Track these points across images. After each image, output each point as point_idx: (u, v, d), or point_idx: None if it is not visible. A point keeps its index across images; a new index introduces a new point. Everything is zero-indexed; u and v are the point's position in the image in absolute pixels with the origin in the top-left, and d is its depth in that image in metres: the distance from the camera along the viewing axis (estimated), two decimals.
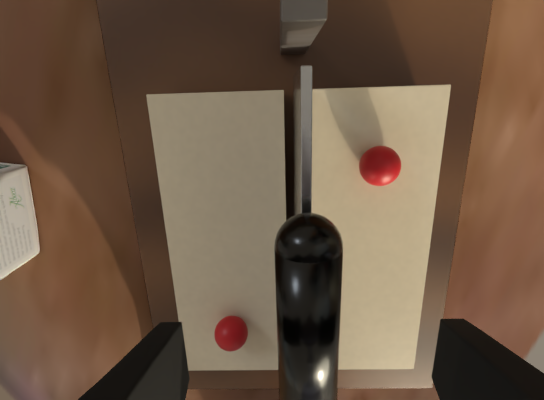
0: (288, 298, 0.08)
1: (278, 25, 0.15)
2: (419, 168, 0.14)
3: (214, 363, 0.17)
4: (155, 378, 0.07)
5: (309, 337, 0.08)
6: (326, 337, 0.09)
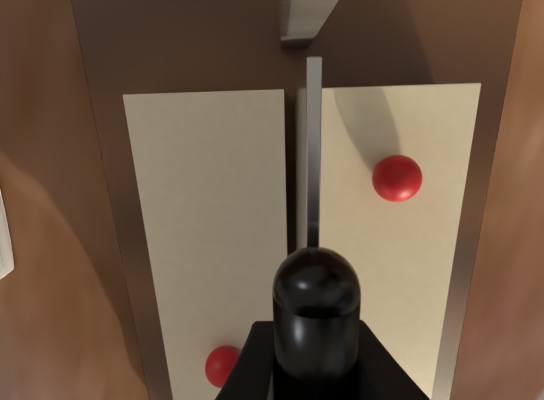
0: (289, 359, 0.06)
1: (277, 15, 0.13)
2: (441, 180, 0.12)
3: (206, 397, 0.15)
4: (273, 377, 0.07)
5: None
6: None
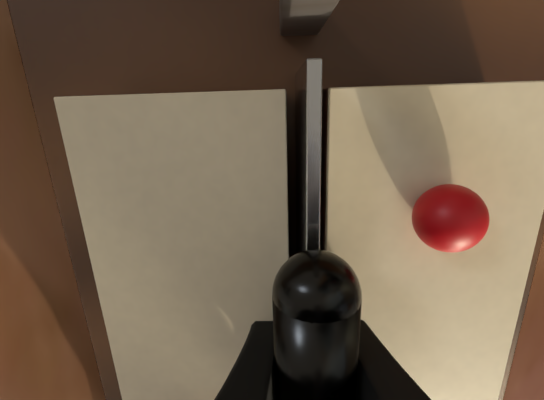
0: (290, 364, 0.06)
1: None
2: (507, 217, 0.08)
3: None
4: (272, 377, 0.07)
5: None
6: None
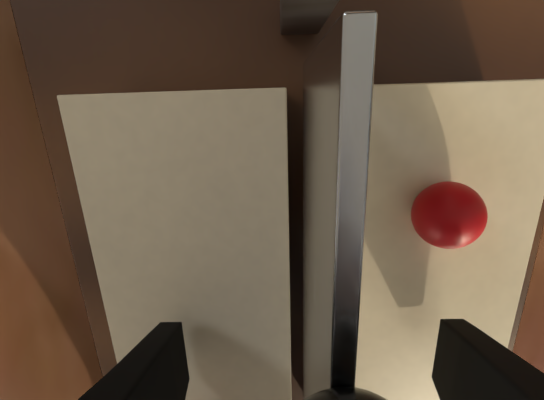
0: None
1: None
2: (505, 214, 0.08)
3: None
4: (155, 378, 0.07)
5: None
6: None
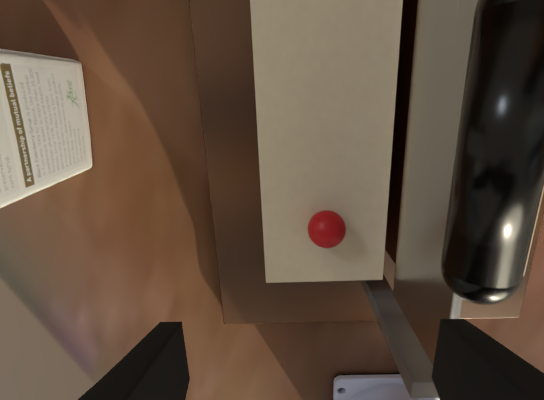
0: (509, 64, 0.06)
1: None
2: None
3: (299, 273, 0.15)
4: (154, 378, 0.07)
5: (533, 121, 0.06)
6: None
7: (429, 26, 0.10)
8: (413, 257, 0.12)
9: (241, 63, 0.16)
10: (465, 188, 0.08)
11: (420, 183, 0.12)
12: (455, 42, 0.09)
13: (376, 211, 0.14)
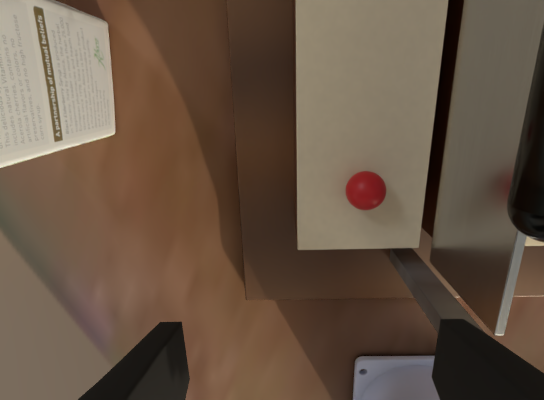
0: None
1: None
2: None
3: (332, 240, 0.15)
4: (155, 378, 0.07)
5: None
6: None
7: None
8: (458, 216, 0.12)
9: (274, 23, 0.15)
10: None
11: (471, 135, 0.11)
12: None
13: (415, 174, 0.14)
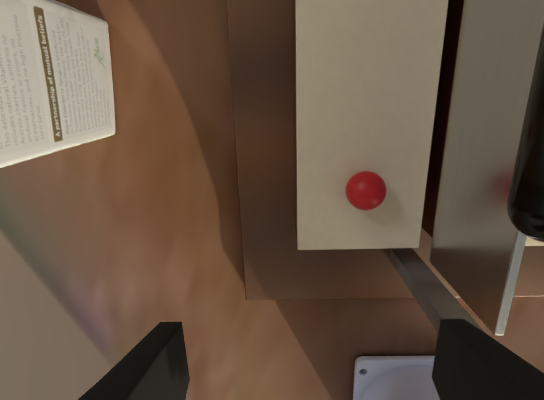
0: None
1: None
2: None
3: (332, 240, 0.15)
4: (155, 378, 0.07)
5: None
6: None
7: None
8: (458, 216, 0.12)
9: (274, 23, 0.15)
10: None
11: (471, 135, 0.11)
12: None
13: (415, 174, 0.14)
